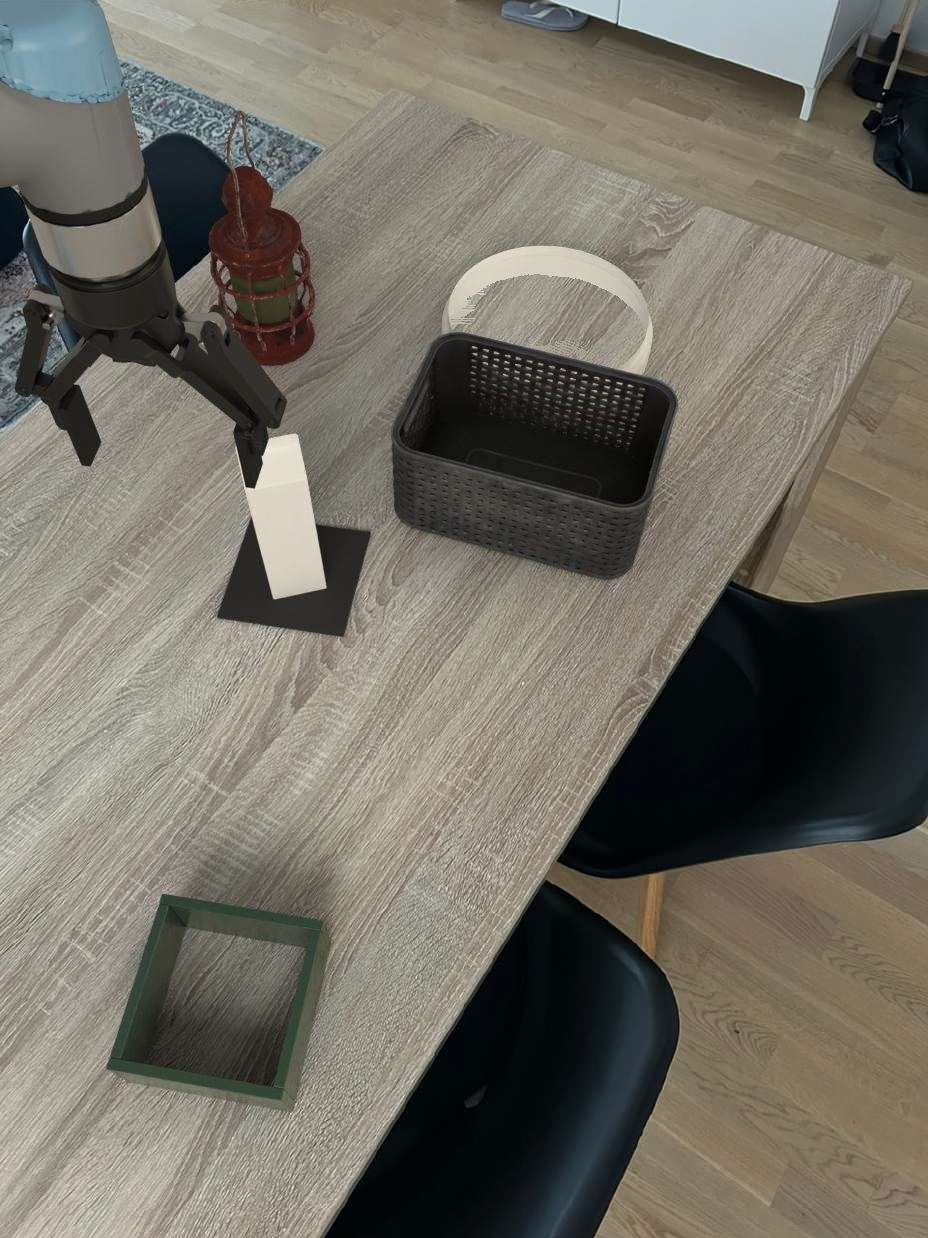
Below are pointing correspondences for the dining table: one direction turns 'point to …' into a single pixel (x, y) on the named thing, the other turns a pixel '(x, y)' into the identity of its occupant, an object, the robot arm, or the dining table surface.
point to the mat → (304, 611)
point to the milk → (286, 520)
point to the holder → (155, 982)
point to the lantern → (261, 267)
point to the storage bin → (530, 454)
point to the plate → (552, 264)
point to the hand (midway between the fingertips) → (172, 464)
